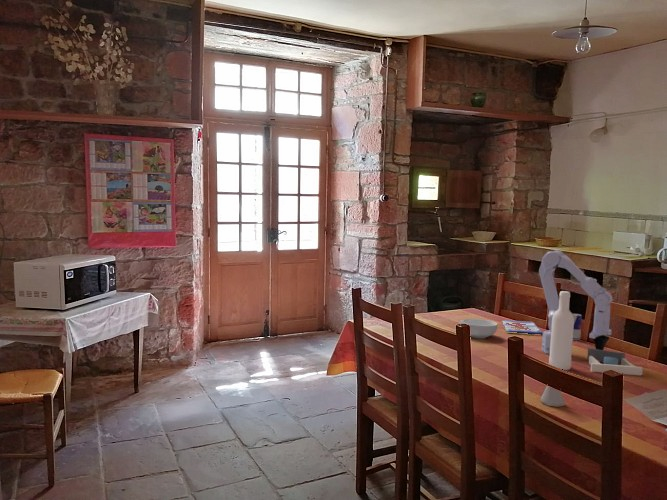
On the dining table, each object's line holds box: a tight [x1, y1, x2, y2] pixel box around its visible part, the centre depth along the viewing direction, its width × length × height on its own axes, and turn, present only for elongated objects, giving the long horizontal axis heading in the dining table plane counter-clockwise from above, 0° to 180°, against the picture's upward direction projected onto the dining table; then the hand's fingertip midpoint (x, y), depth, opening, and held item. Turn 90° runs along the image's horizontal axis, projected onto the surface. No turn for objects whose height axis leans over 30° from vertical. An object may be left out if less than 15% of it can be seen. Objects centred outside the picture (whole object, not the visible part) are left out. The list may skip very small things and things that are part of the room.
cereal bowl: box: [460, 318, 499, 339], centre depth 253 cm, size 17×17×7 cm
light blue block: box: [603, 357, 619, 365], centre depth 209 cm, size 5×5×4 cm
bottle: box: [548, 290, 574, 371], centre depth 207 cm, size 8×8×30 cm
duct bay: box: [588, 356, 644, 376], centre depth 208 cm, size 18×12×3 cm, turn 80°
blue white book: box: [501, 319, 543, 335], centre depth 270 cm, size 17×24×3 cm
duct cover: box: [587, 347, 626, 365], centre depth 217 cm, size 14×1×4 cm, turn 61°
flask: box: [540, 385, 566, 408], centre depth 170 cm, size 7×7×10 cm
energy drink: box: [572, 313, 583, 341], centre depth 252 cm, size 5×5×12 cm
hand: (599, 353), depth 219 cm, fingers closed
